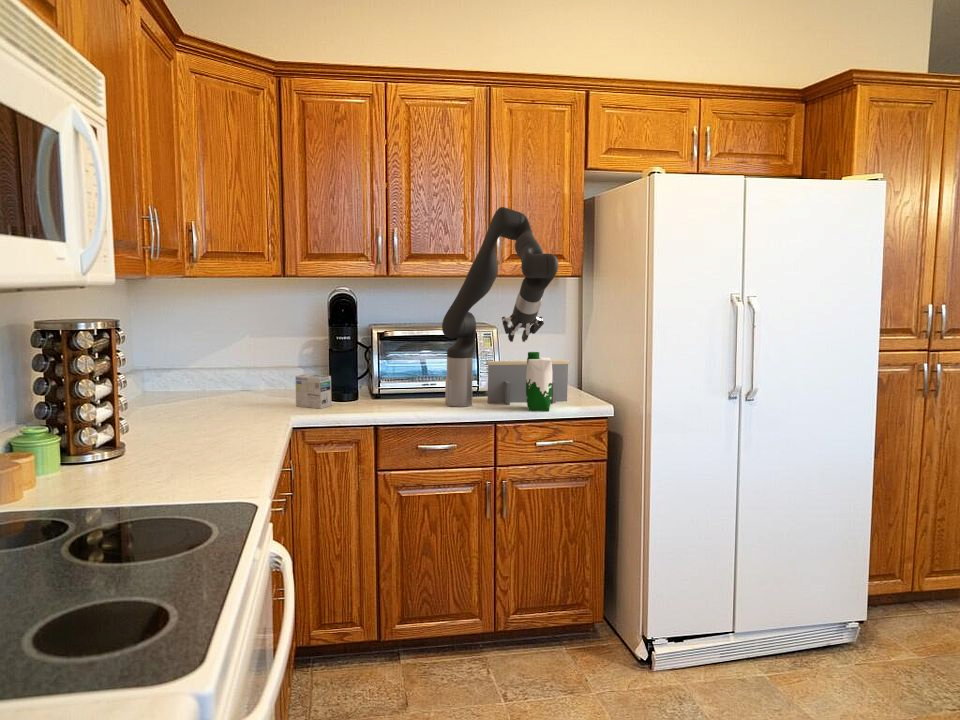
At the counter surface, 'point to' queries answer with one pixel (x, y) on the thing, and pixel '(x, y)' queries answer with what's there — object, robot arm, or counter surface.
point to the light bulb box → (313, 391)
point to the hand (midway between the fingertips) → (516, 339)
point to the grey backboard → (522, 381)
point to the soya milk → (538, 382)
